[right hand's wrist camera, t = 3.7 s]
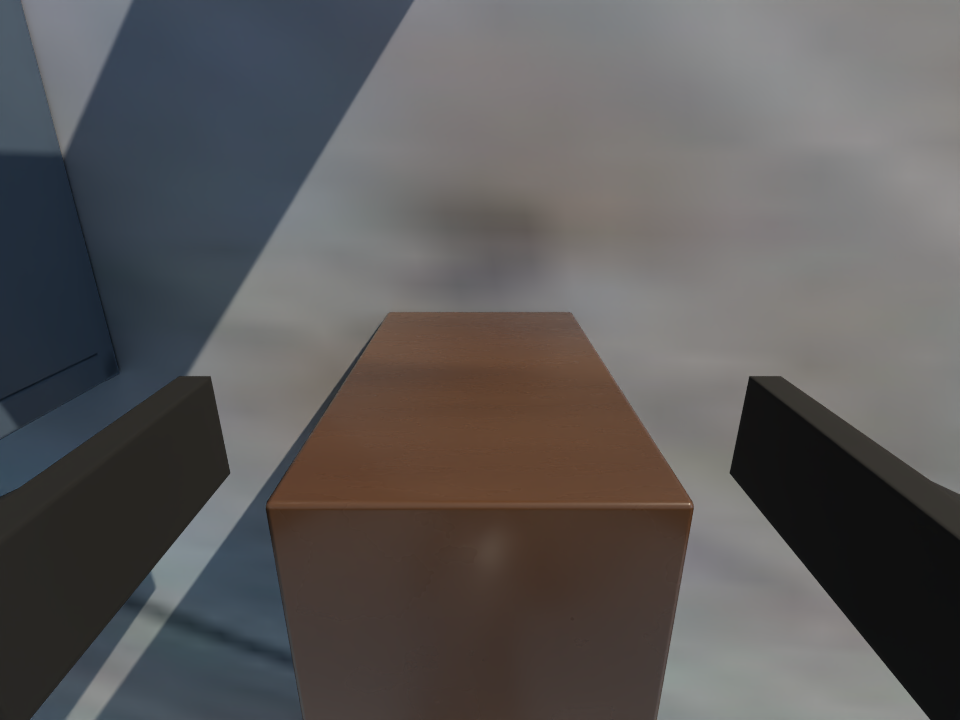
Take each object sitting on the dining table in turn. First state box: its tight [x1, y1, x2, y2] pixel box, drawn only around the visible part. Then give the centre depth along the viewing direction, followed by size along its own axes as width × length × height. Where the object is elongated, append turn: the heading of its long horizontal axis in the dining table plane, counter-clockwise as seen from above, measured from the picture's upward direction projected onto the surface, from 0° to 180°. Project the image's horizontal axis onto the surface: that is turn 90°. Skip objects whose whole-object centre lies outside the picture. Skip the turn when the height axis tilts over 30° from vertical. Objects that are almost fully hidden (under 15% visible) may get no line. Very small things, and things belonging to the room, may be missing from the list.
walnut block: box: [266, 312, 694, 720], centre depth 11 cm, size 5×5×8 cm
